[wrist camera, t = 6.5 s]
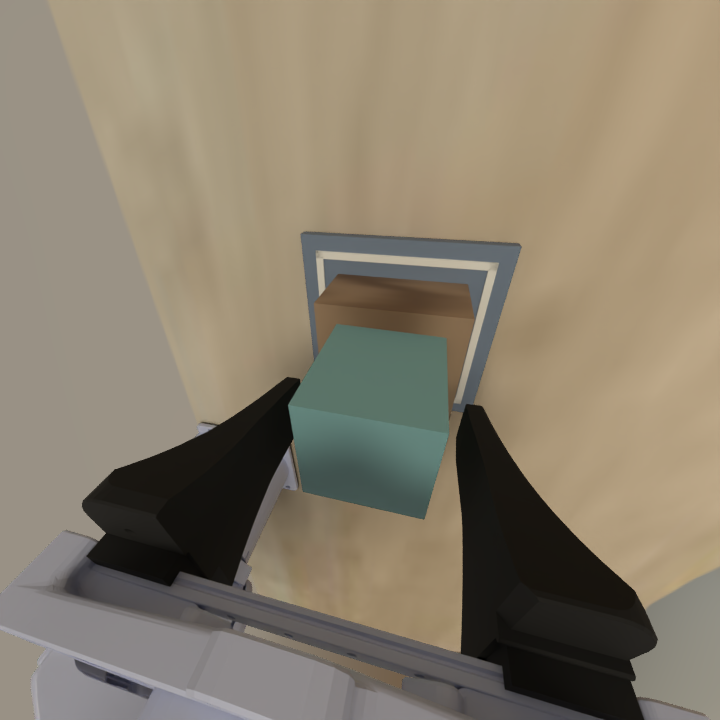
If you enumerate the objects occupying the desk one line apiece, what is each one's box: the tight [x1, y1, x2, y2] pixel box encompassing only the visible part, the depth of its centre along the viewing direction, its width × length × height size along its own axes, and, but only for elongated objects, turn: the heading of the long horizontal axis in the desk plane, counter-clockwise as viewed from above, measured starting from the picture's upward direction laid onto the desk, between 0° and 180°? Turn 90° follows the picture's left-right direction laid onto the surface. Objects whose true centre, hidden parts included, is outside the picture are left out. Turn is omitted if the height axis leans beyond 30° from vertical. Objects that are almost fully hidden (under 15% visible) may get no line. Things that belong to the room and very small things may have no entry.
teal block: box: [288, 324, 449, 519], centre depth 13 cm, size 5×5×6 cm
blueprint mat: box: [301, 232, 521, 412], centre depth 18 cm, size 11×11×1 cm
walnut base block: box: [314, 274, 475, 419], centre depth 16 cm, size 7×7×4 cm
